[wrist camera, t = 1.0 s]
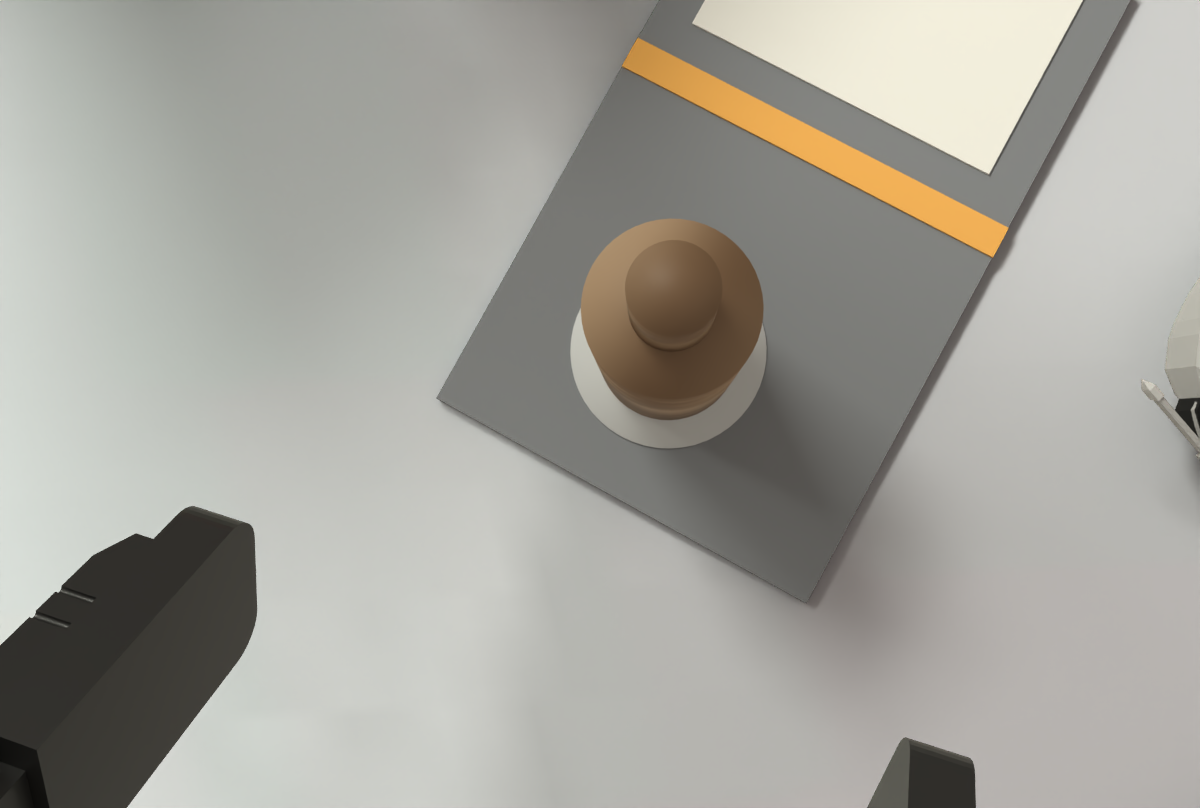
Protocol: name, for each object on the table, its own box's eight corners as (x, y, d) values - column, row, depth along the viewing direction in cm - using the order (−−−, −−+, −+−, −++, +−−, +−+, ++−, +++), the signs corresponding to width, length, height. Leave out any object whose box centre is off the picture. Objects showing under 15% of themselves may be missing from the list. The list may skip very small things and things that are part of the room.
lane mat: (438, 399, 39) (435, 398, 39) (764, -185, 40) (766, -193, 40) (804, 602, 38) (806, 603, 37) (1131, -6, 39) (1137, -12, 39)
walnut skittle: (573, 378, 38) (536, 328, 27) (640, 257, 39) (633, 153, 27) (696, 445, 38) (714, 425, 26) (763, 322, 38) (812, 247, 26)
